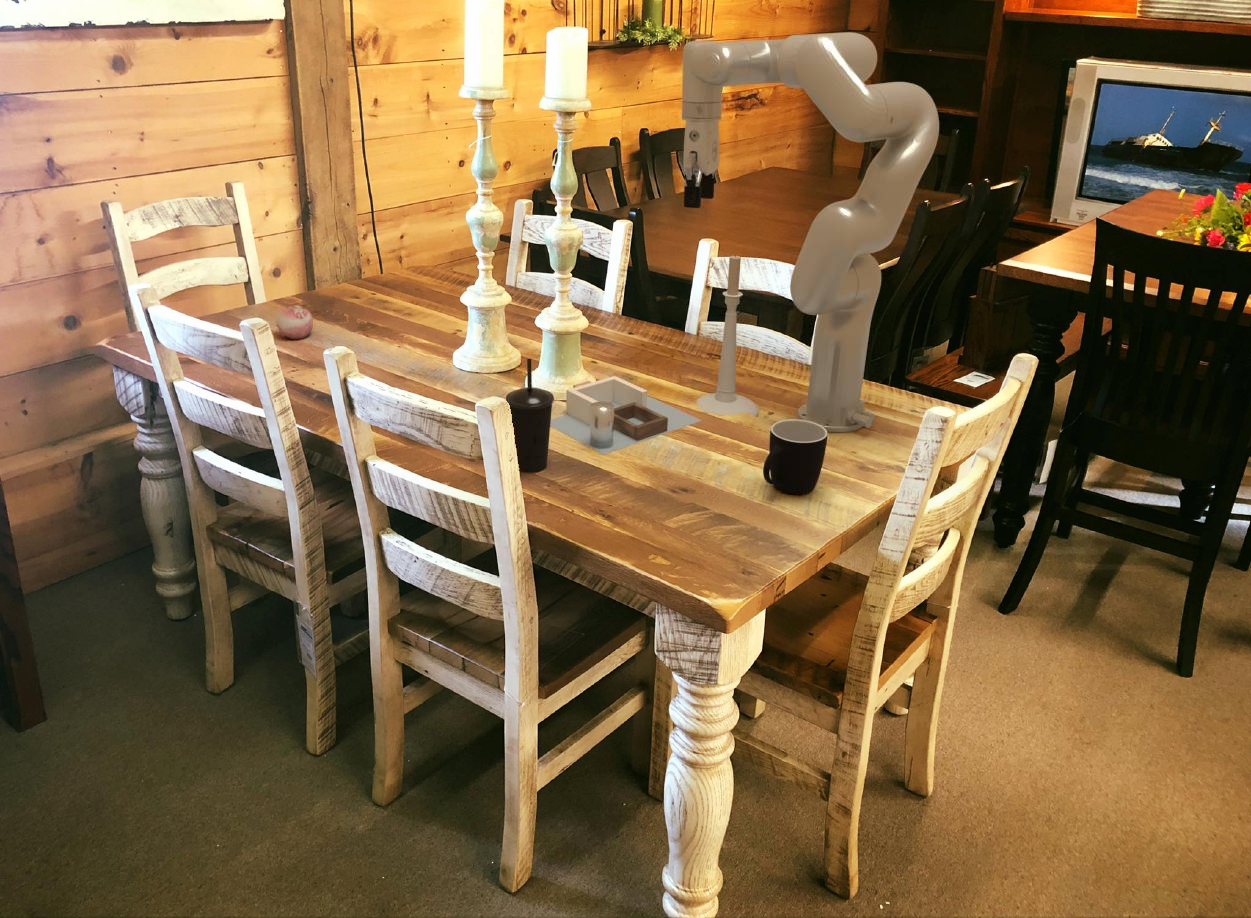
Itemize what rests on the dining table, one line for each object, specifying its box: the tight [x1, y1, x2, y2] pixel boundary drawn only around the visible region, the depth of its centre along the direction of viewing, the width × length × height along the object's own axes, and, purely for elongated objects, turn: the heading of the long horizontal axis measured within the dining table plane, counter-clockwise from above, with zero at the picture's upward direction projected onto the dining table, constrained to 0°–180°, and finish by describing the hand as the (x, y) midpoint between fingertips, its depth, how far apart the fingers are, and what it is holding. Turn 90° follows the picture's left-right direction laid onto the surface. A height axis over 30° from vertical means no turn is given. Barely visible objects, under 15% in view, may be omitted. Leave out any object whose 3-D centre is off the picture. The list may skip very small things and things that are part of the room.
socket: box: [614, 402, 668, 441], centre depth 187 cm, size 9×7×2 cm
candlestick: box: [696, 253, 760, 418], centre depth 192 cm, size 13×13×30 cm
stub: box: [590, 401, 614, 449], centre depth 179 cm, size 4×4×7 cm
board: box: [550, 395, 702, 455], centre depth 190 cm, size 17×23×2 cm
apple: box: [276, 304, 314, 341], centre depth 229 cm, size 8×8×7 cm
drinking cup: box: [505, 358, 555, 474], centre depth 169 cm, size 8×8×20 cm
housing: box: [565, 375, 648, 425], centre depth 193 cm, size 12×11×4 cm
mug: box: [762, 418, 828, 497], centre depth 168 cm, size 12×9×10 cm
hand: (699, 202), depth 206 cm, fingers open, 9 cm apart
